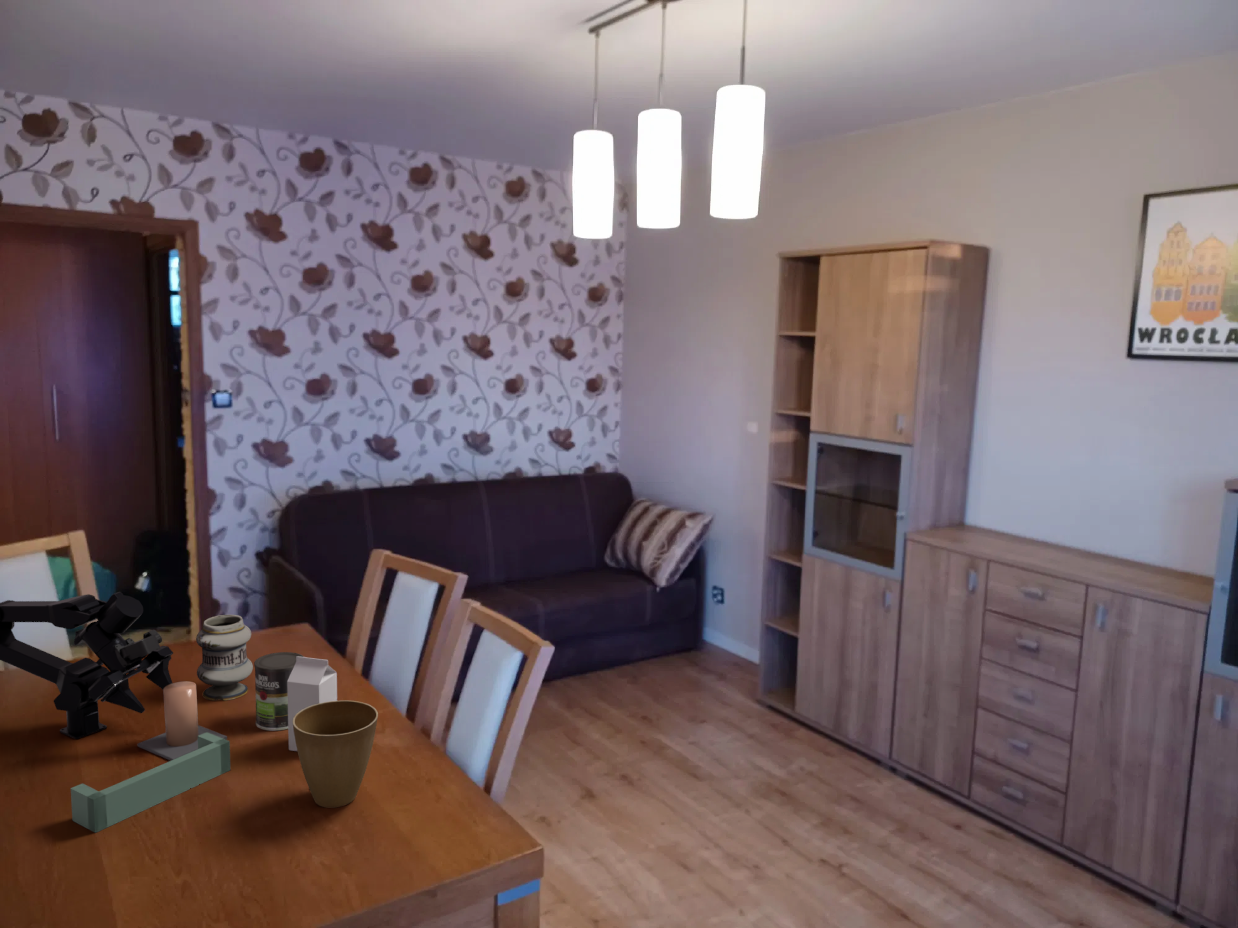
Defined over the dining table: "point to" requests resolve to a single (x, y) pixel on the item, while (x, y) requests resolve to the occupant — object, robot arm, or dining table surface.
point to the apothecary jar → (224, 657)
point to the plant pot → (335, 748)
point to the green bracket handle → (150, 785)
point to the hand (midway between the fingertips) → (158, 702)
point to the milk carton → (309, 688)
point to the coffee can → (273, 689)
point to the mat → (173, 752)
